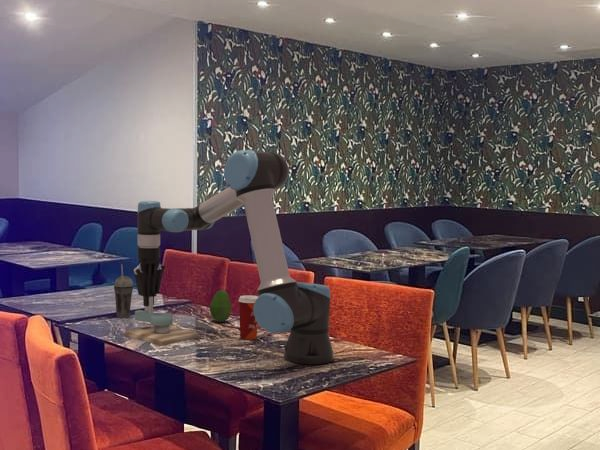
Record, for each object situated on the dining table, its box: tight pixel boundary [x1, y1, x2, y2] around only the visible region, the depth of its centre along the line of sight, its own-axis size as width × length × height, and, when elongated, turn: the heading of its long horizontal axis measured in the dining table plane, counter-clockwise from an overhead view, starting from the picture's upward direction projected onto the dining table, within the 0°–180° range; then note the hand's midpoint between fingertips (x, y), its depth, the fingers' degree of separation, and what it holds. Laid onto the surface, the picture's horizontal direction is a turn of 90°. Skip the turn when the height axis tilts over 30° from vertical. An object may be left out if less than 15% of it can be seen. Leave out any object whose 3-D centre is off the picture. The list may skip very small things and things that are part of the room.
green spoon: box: [134, 310, 174, 326], centre depth 233 cm, size 14×7×3 cm, turn 60°
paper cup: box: [237, 294, 259, 341], centre depth 234 cm, size 8×8×14 cm
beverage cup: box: [113, 263, 134, 319], centre depth 258 cm, size 7×7×20 cm
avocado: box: [209, 289, 232, 323], centre depth 257 cm, size 8×8×12 cm
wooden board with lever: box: [124, 325, 199, 346], centre depth 231 cm, size 18×16×4 cm
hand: (148, 315), depth 236 cm, fingers closed
